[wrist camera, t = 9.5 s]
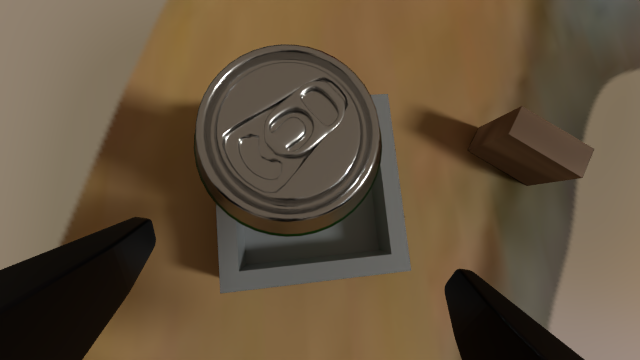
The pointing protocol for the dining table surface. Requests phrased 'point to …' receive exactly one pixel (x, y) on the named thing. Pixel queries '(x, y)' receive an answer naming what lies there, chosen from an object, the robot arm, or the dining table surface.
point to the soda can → (287, 140)
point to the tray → (324, 237)
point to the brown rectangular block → (531, 148)
